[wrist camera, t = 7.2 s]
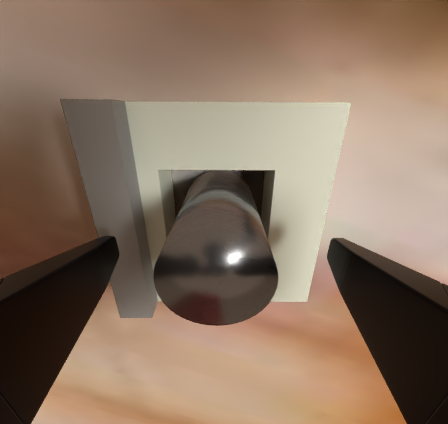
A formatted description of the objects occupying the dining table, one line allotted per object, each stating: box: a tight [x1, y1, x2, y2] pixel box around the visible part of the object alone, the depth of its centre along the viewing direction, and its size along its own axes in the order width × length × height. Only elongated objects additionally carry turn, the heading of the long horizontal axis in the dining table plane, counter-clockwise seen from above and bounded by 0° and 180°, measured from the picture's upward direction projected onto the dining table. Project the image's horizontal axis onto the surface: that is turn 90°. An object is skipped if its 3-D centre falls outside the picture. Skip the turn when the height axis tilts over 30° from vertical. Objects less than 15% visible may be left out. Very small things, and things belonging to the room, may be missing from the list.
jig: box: [60, 99, 351, 318], centre depth 12 cm, size 11×11×4 cm
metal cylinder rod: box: [153, 170, 278, 326], centre depth 10 cm, size 4×4×7 cm
